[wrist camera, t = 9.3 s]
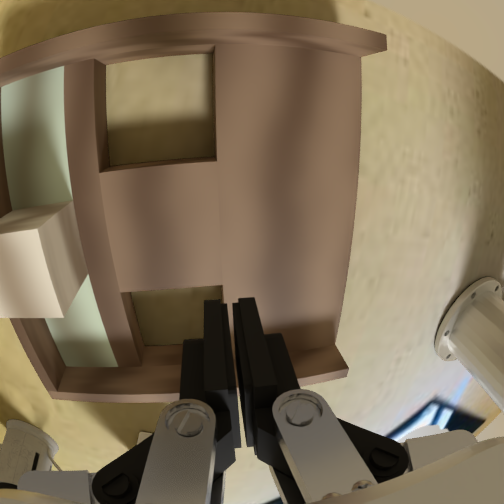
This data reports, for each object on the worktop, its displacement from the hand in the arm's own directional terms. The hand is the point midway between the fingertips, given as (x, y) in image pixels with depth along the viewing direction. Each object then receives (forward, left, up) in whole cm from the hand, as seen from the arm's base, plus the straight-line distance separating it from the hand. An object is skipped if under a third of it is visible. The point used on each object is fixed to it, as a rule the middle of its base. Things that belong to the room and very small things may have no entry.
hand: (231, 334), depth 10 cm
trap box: (+3, 0, -12) cm, 12 cm away
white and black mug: (+27, +28, -12) cm, 41 cm away
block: (+11, -1, -9) cm, 15 cm away
